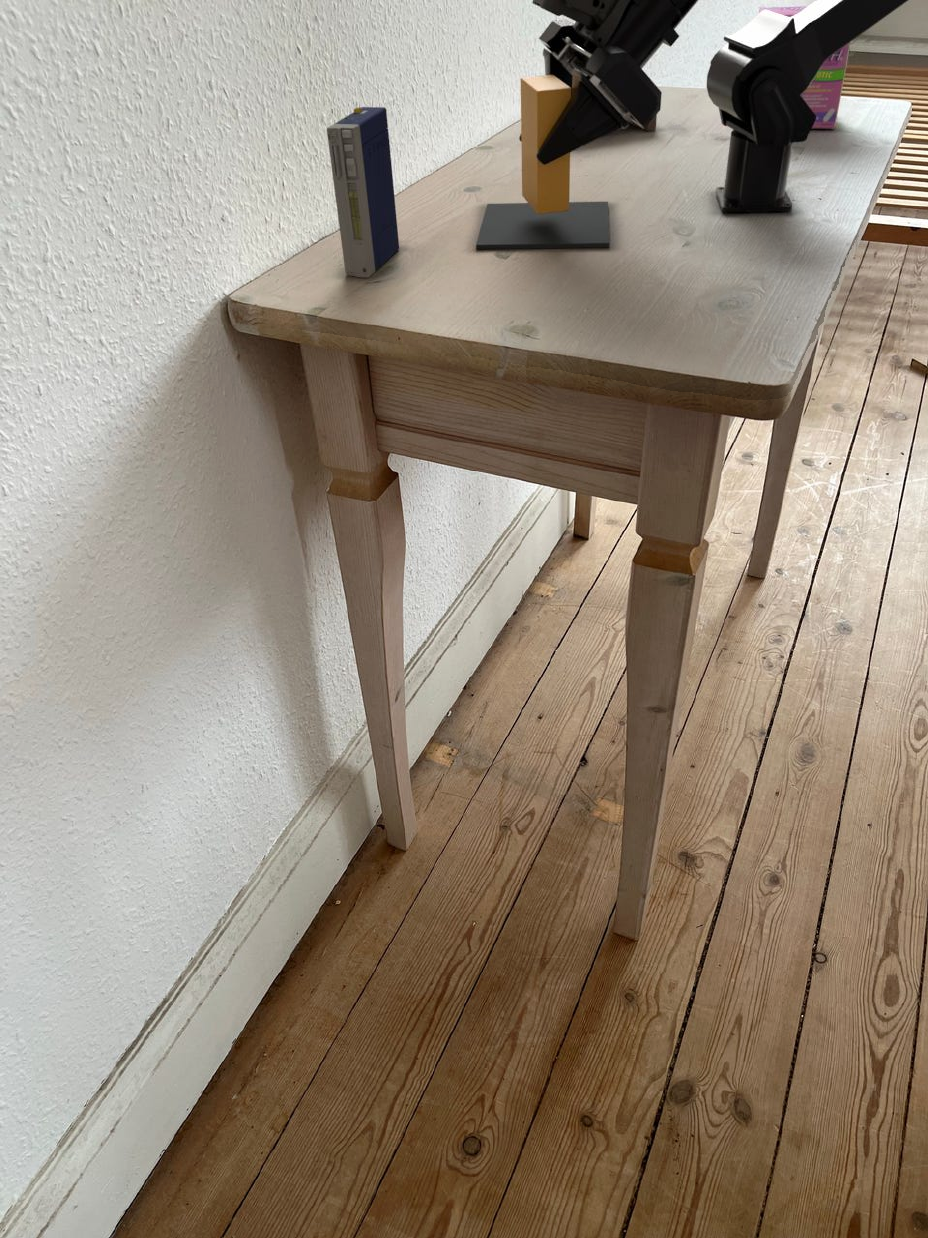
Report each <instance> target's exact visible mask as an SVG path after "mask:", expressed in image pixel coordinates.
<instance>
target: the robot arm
mask: <svg viewBox="0 0 928 1238" xmlns="http://www.w3.org/2000/svg"><path fill="white" fill-rule="evenodd" d="M908 1H909V0H815V1H813V2H812V3H810V4H809V5H807V6H808V7H807V8H805V9H804V10H802V11H801V12H800V13H798V14H796V15H794V16H792V17H788V16H785V15H782V14H779V13H776V12H772V11H769V10H766V9H764V10H762V11H761V12H760V13H759V12H758V13H757V14H755V15H754V16H753V17H752V19H750V20H749V21H748V22H747V23H746V25H744V26H743V27H742V28H741V29H739V30H738V31H736V32H734V33H731V34H727V35H724V37H723V41H725V42H726V44H725V45H723V46H722V47H721V48H720V49H719V50H718V51H717V52H716V53H715V54H714V55H713V57H712V58H711V61H710V66H709V69H708V71H707V75H706V90H707V91H706V92H707V94H708V95H707V96H708V97H709V99H710V100H711V102H712V104H713V105H714V106H716V107H717V108H718V111H719V117H720V121H721V124H722V126H724V127H727V128H730V129H731V130H732V131H730V139H729V147H728V153H727V163H726V169H725V170H726V171H725V179H724V186H718V187H716V189H715V194H716V197H717V200H718V204H719V207H720V210H721V212H724V213H741V212H746V213H747V212H748V213H750V212H790V211H792V210H793V203H792V201H791V199H790V196H789V195H788V193H787V191H786V188H787V181H788V175H789V169H790V163H791V158H792V152H793V151H792V150H793V146H794V143H803V142H804V143H805V142H806V141H807V139H808V137H809V136H810V133H811V131H812V127H813V125H814V122H815V120H816V115H815V114H814V112H813V111H812V110H811V108H810V107H809V106H808V105H807V103H806V102H805V101H804V99H803V98H802V97H801V95H802V94H803V93H804V92H805V91H806V90H807V88H808V87H809V85H810V84H811V82H812V81H813V79H814V77H815V76H816V74H817V73H818V71H819V70H820V68H821V66H822V65H823V63H824V62H825V61H826V60H827V59H828V58H829V57H830V56H832V55H833V54H835V53H836V52H837V51H839V50H840V49H841V48H843V47H844V46H846V45H847V44H848V43H850V42H853V41H854V40H856V39H857V38H858V37H859V36H861V35H862V34H864V33H865V32H866V31H868V30H869V29H871V28H873V26H875V25H877V24H878V23H879V22H880V21H882V20H883V19H885V18H886V17H888V16H890V14H891V13H893V12H894V11H896V10H897V9H898V8H900V7H901V6H903V5H904V4H906V3H907V2H908ZM698 2H699V0H532V1H531V3H532V4H533V5H535V6H538V7H539V8H540V9H542V10H543V11H547V12H549V13H551V14H552V15H555V16H557V17H560V16H563V17H566V18H568V19H570V20H572V21H574V22H572V21H569V20H568V19H557V20H556V19H555V20H551V22H550V23H549V24H548V26H547V27H546V28H545V29H544V31H542V34H541V35H540V36H539V37H538V39H539V41H540V42H541V43H542V44H543V46H544V48H543V50H542V56H543V59H544V74H545V75H554V76H555V77H557V78H558V79H559V80H561V81H562V82H564V83H565V84H566V85H568V86H569V87H571V99H570V101H569V102H568V104H567V105H566V107H565V108H564V110H563V112H562V113H561V115H560V116H559V118H558V120H557V121H556V123H555V124H554V126H553V127H552V129H551V131H550V132H549V134H548V135H547V137H546V139H545V140H544V142H543V144H542V145H541V147H540V149H539V151H538V152H537V154H536V157H537V159H538V160H539V161H540V162H541V163H542V164H544V165H546V164H548V163H550V162H552V161H554V160H556V159H558V158H560V157H562V156H564V155H566V154H568V153H569V152H570V153H571V152H573V151H576V150H577V149H579V148H582V147H583V146H586V145H588V144H590V143H591V142H594V141H596V140H598V139H601V138H603V137H605V136H607V135H609V134H612V133H614V132H616V131H618V130H620V129H624V130H626V129H627V128H628V127H629V126H630V123H628V122H627V121H626V120H625V119H624V117H625V116H626V114H627V113H628V112H629V113H630V118H631V119H632V120H633V122H635V123H636V124H637V125H639V126H640V127H642V128H643V129H642V130H644V129H645V127H646V126H647V125H648V124H649V123H650V122H651V120H652V119H653V118H654V117H655V116H656V115H657V116H658V114H659V112H660V111H661V107H662V93H663V92H662V90H661V89H660V88H659V87H658V86H657V84H655V82H654V81H653V80H652V79H651V78H650V77H649V76H648V74H647V73H646V72H645V71H644V70H643V68H644V67H645V66H646V65H647V63H648V62H649V61H650V59H652V57H653V56H654V55H655V54H656V52H657V51H658V50H659V49H660V47H662V45H663V44H664V45H666V46H667V47H672V46H673V45H674V44H675V42H676V41H677V40H678V39H679V38H680V35H679V33H678V32H677V31H676V30H675V29H676V28H677V27H678V26H679V25H680V24H681V22H682V21H683V20H684V19H685V17H686V16H687V15H688V14H689V13H690V11H691V10H692V9H693V7H695V5H696V4H697V3H698ZM850 44H851V43H850ZM518 140H519V142H521V134H520V135H519V137H518Z"/></svg>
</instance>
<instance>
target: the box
mask: <svg viewBox="0 0 928 1238" xmlns="http://www.w3.org/2000/svg"><path fill="white" fill-rule="evenodd" d="M808 6H809V5H805V6H804V5H803V6H773V7H771V6H770V7H766V6H765V7H764V6H763V7H762V6H759V9H758V13H760V12H761V11H762V10H764V9H766V10H769V11H772V12H776V13H779V14H782V15H785V16H788V17H792V16H794V15H796V14H798V13H800V12H801V11H802V10H804V9H805V8H807V7H808ZM851 42H852V41H851ZM851 42H850V43H848V44H847V45H846V46H844V47H843V48H841V49H840V50H839V51H837V52H836V53H835V54H833V55H832V56H830V57H829V58H828V59H827V60H826V61H825V62H824V63H823V65H822V66H821V68H820V70H819V71H818V73H817V74H816V76H815V77H814V79H813V81H812V82H811V84H810V85H809V87H808V88H807V90H806V91H805V92H804V93H803V94H802V95H801V97H802V98H803V99H804V101H805V102H806V103H807V105H808V106H809V107H810V108H811V110H812V111H813V112H814V114H815V115H816V120H815V122H814V125H813V127H812V129H832V130H834V129H835V128H836V124H837V119H838V113H839V108H840V104H841V103H840V102H841V98H842V91H843V87H844V82H845V77H846V71H847V65H848V60H849V55H850V48H851ZM812 129H811V130H812Z"/></svg>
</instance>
